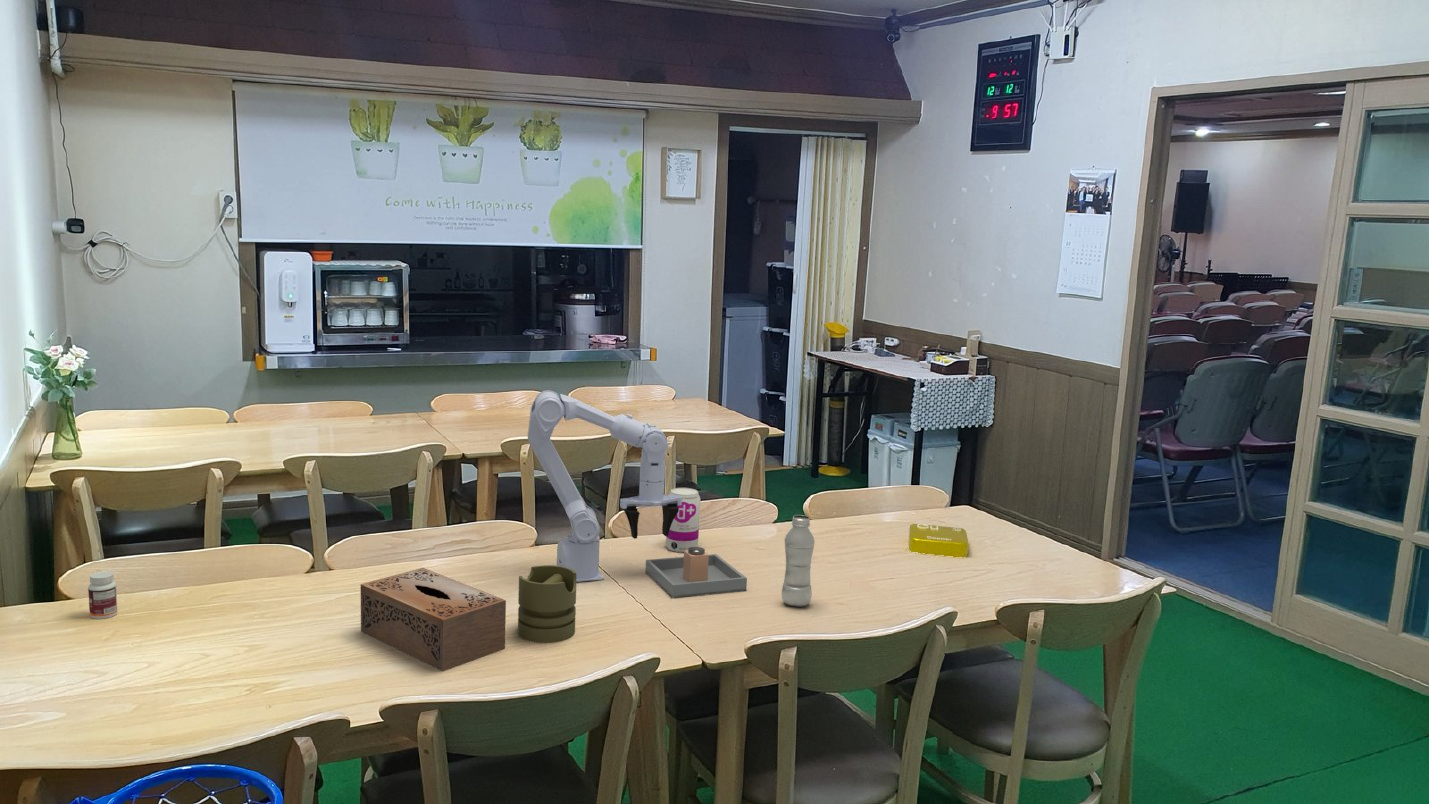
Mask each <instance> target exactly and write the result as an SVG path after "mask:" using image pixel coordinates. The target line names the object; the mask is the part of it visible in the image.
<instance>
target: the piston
mask: <svg viewBox="0 0 1429 804" xmlns="http://www.w3.org/2000/svg"><path fill="white" fill-rule="evenodd" d="M517 603H518V609H517V616H518V617H517V634H518V636H519V638H521V639H523V640H525V641H527V642H530V643H531V642H532V643H538V644H554V643H560V642H564V641H566V640H569V639H571V638H572V637H574V635H575V633H576V614H577V613H576V612H577V611H576V610H577V608H576V603H577V582H576V572H575V571H574V570H572V569H570V568H567V567H562V566H557V565H556V564H555V565H552V564H547V565H545V564H543V565H536V566H531V570H530V573H529V575H528V576H527V577H526V578H525V577H523V575H518V602H517Z"/></svg>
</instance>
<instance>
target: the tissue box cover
mask: <svg viewBox="0 0 1429 804" xmlns="http://www.w3.org/2000/svg"><path fill="white" fill-rule="evenodd" d="M506 612H507V600H506V599H503V598H502V597H498V596H496V595H494V594H491V593H488V592H486V591H483V590H480V589H478V588H476V587H474V586H471V585H468V584H465V583H463V582H460V581H459V580H458V581H457V580H455V579H453V578H450V577H448V576H445V575H442V574H440V573H437V572H435V571H433V570H430V569H427V568H425V567H420V568H416V569H413V570H410V571H406V572H402V573H398V574H394V575H390V576H387V577H384V578H380V579H376V580H372V581H369V582H364V583H361V584H360V633H363V634H365V636H368V637H371V638H373V639H375V640H377V641H379V642H380V643H383V644H385V645H387V646H389V647H391V648H394V649H396V650H398V651H400V652H402V653H404V654H406V655H408V656H410V657H412V658H415V659H417V660H419V661H420V662H423V663H425V664H427V665H428V666H431V667H433V668H434V669H436V670H437V669H438V670H439V671H440V672H441V671H442V672H445V671H448V670H451V669H453V668H456V667H459V666H461V665H464V664H467V663H469V662H473V661H475V660H478V659H481V658H483V657H486V656H490V655H491V654H494V653H497V652H500V651H503V650H505V649H506V619H507V618H506V617H507V615H506V614H507V613H506Z"/></svg>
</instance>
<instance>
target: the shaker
mask: <svg viewBox="0 0 1429 804" xmlns="http://www.w3.org/2000/svg"><path fill="white" fill-rule="evenodd" d="M709 555H710V554H709V553H707V552H706V549H705V548H704V547H701V546H698V547H690V548H689V549H688V550H685V551H684V553H683V557H684V562H683V578H685V579H686V580H687V581H688V582H698V581H707V580H708V560H709Z"/></svg>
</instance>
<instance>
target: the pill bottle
mask: <svg viewBox="0 0 1429 804" xmlns="http://www.w3.org/2000/svg"><path fill="white" fill-rule="evenodd" d="M114 576H115V575H114V572H112V571H109V570H107V571H106V570H105V571H97V572H93V573H91V574H90V575H89V582H90V584H89V585H88V589H87V591H88V592H87V593H88V605H89V606H88V607H89V609H88V610H89V617H90V618H91V619H94V620H95V619H96V620H97V619H98V620H103V619H104V620H105V619H109V618H112V617H114V616H116V615H117V614H118V599H117V598H118V597H117V596H118V595H117V584H116V582H115V581H114V579H115V578H114Z"/></svg>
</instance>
